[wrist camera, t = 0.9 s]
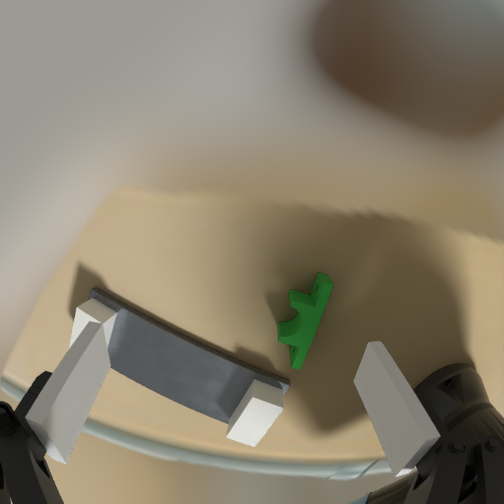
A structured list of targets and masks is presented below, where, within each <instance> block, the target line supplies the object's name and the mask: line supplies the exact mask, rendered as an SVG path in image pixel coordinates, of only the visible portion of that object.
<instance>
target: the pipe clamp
mask: <svg viewBox="0 0 504 504" xmlns="http://www.w3.org/2000/svg"><path fill="white" fill-rule="evenodd" d="M333 286H334V284H333V283H332V282H331V280H330V279H329V277H328V276H327V275H326V274H322V273H319V272H318V274H317V277H316V280H315V283H314V286H313V289H312V292H311V295H309V294H305V293H302V292H298V291H295V290H291V289H290V292H289V300H290V305H291V307H292V308H294V309H296V310H297V311H298V314H297V315H296V317H295V318H294V319H292V320H291V321H288V322H279V324H278V342H281V343H284V344H288V345H292V346H291V349H290V360H291V368H294V369H298V370H300V369H301V367H302V365H303V362H304V360H305V358H306V355H307V353H308V350H309V348H310V346H311V343H312V341H313V338H314V336H315V333H316V331H317V328H318V326H319V323H320V320H321V318H322V315H323V313H324V310H325V307H326V305H327V302H328V299H329V297H330V294H331V291H332V288H333Z"/></svg>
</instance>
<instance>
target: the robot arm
mask: <svg viewBox="0 0 504 504" xmlns="http://www.w3.org/2000/svg"><path fill="white" fill-rule="evenodd" d="M110 367H111V364H110V359H109V354H108V349H107V344H106V339H105V334H104V328H103V323H97V322H92V321H89V322H88V324H87V325H86V326H85V328H84V329H83V330H82V332H81V333H80V335H79V336H78V337H77V339H76V340H75V342H74V343H73V344H72V346H71V347H70V349H69V350H68V352H67V353H66V354H65V356H64V357H63V359H62V360H61V362H60V363H59V365H58V366H57V368H56V369H55V371H54V372H53V373H51V372H48V371H45V372H43V373H42V374H40V375H39V376H38V377H37V378H36V379H35V381H34V382H33V383H32V386H30V388H29V389H28V392H27V393H26V394H25V395H24V397H23V399H22V400H21V402H20V403H19V405H18V406H17V408H16V409H15V411H13V409H12V407H11V406H10V405H9V404H8V403H6V402H3V401H0V504H11V500H12V503H13V504H64V502H63V500H62V498H61V496H60V494H59V492H58V489H57V487H56V485H55V482H54V480H53V478H52V475H51V473H50V470H49V468H48V465H47V462H46V460H45V459H44V456H45V453H46V452H47V453H48V454H49V455H50V457H51V458H52V459H54V460H56V461H59V462H62V463H64V464H68V461H69V459H70V456H71V454H72V451H73V449H74V446H75V444H76V442H77V439H78V437H79V434H80V432H81V430H82V427H83V425H84V423H85V421H86V418H87V416H88V414H89V412H90V409H91V407H92V405H93V403H94V401H95V398H96V396H97V394H98V392H99V390H100V388H101V386H102V383H103V381H104V379H105V377H106V375H107V373H108V371H109V369H110ZM353 382H354V384H355V386H356V388H357V390H358V393H359V395H360V397H361V399H362V402H363V404H364V406H365V408H366V411H367V413H368V415H369V417H370V420H371V422H372V424H373V427H374V429H375V431H376V434H377V436H378V438H379V441H380V443H381V445H382V448H383V450H384V453H385V455H386V457H387V460H388V462H389V465H390V467H391V469H392V472H393V474H394V476H395V477H397V476H401V475H404V474H408V473H410V471H411V470H412V469H413V468H414V467H415V466H416V468H417V471H415V472H413V473H411V474H409V475H407V476H406V477H404V478H402V479H400V480H398V481H396V482H394V483H392V484H390V485H387V486H385V487H383V488H381V489H379V490H377V491H374V492H370V493H367V494H366V496H364V497H361V498H359V499H357V500H355V501H353V502H350V503H348V504H504V417H503V416H502V415H501V414H500V413H499V412H498V411H497V410H496V409H495V408H494V407H493V406H492V404H491V403H490V401H489V398H488V396H487V393H486V390H485V387H484V384H483V382H482V379H481V377H480V376H479V374H478V373H477V372H476V371H475V370H474V369H473V368H472V367H470V366H469V365H466V364H453V365H450V366H447V367H444V368H442V369H440V370H438V371H437V372H435V373H433V374H432V375H431V376H429V377H428V378H427V379H425V380H424V381H423V382H422V383H421V384H420V385H419V386H418V387H417V388H416V389H415V390H414V391H413V390H412V388H411V387H410V385H409V383H408V382H407V380H406V379H405V377H404V376H403V374H402V372H401V371H400V369H399V368H398V366H397V365H396V363H395V362H394V360H393V359H392V357H391V356H390V354H389V352H388V351H387V349H386V348H385V346H384V345H383V343H382V342H381V341H373V342H368V344H367V347H366V350H365V352H364V355H363V358H362V360H361V363H360V365H359V368H358V371H357V373H356V376H355V378H354V380H353ZM10 497H11V500H10Z"/></svg>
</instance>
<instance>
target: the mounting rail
mask: <svg viewBox="0 0 504 504" xmlns="http://www.w3.org/2000/svg"><path fill="white" fill-rule="evenodd" d="M89 321H92V322H97V323H103V328H104V334H105V339H106V344H107V349H108V354H109V359H110V364H111V368H112V369H114V370H116V371H118V372H119V373H121V374H123V375H125V376H126V377H128V378H130V379H132V380H134V381H135V382H137V383H139V384H141V385H143V386H145V387H147V388H149V389H151V390H153V391H154V392H156V393H158V394H160V395H163V396H165V397H167V398H169V399H171V400H173V401H175V402H177V403H179V404H182V405H184V406H186V407H188V408H190V409H193V410H195V411H197V412H200V413H202V414H204V415H207V416H209V417H212V418H214V419H217V420H219V421H222V422H224V423H227V424H228V429H227V434H226V437H227V438H229V439H232V440H235V441H238V442H241V443H244V444H247V445H250V446H253V447H255V446H256V444H257V443H258V442H259V441H260V439H261V438H262V437H263V435H264V434H265V433H266V432H267V430H268V429H269V428H270V426H271V425H272V424H273V422H274V421H275V420H276V418H277V417H278V416H279V414H280V413H281V412H282V410H283V409H284V399H283V396H284V394H285V393H286V391H287V390H288V388H289V387H290V380H287V379H284V378H282V377H279V376H276V375H274V374H271V373H269V372H266V371H264V370H261V369H259V368H256V367H254V366H252V365H249V364H247V363H244V362H242V361H240V360H237V359H235V358H233V357H230V356H228V355H226V354H224V353H221V352H219V351H217V350H215V349H213V348H210V347H208V346H206V345H204V344H202V343H200V342H198V341H195V340H193V339H191V338H189V337H187V336H185V335H183V334H181V333H179V332H177V331H175V330H173V329H171V328H169V327H167V326H165V325H163V324H161V323H159V322H157V321H155V320H154V319H152V318H150V317H148V316H146V315H144V314H142V313H141V312H139V311H137V310H135V309H133V308H131V307H130V306H128V305H126V304H124V303H123V302H121V301H119V300H117V299H116V298H114V297H112V296H110V295H109V294H107V293H105V292H104V291H102V290H100V289H99V288H97V287H95V288H93V289H91V292H90V296H89V300H88V301H86V302H85V303H83V304H81V305H80V306H78V307H77V309H76V314H75V319H74V324H73V330H72V336H71V342H70V347H71V346H72V344H73V343H74V342H75V340H76V339H77V337H78V336H79V335H80V333H81V332H82V330H83V329H84V328H85V326H86V325H87V324H88V322H89ZM69 349H70V348H69Z"/></svg>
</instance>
